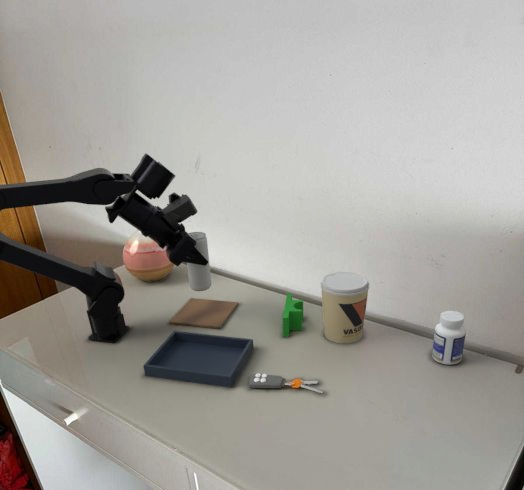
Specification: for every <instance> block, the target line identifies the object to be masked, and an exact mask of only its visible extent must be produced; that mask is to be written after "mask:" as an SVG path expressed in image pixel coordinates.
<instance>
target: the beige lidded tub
mask: <svg viewBox="0 0 524 490" xmlns="http://www.w3.org/2000/svg"><path fill="white" fill-rule="evenodd" d="M320 289H321V304H322V305H321V307H322V320H323V332H324V333H323V334H324V336H325V338H326V339H328V340H329V341H331V342H333V343H337V344H352V343H355V342H357V341H359V340H360V339H361V338H362V336H363V332H364V326H365V318H366V310H367V303H368V295H369V289H370V282H369V279H368V278H367V277H366V276H365V275H363V274H362V273H358V272H353V271H336V272H332V273H328V274H326V275H325V276H324V277H323V278H322V279H321V282H320Z"/></svg>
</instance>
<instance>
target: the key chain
mask: <svg viewBox="0 0 524 490" xmlns="http://www.w3.org/2000/svg"><path fill="white" fill-rule="evenodd" d="M248 384H249V387H250V388H252V389H281V388H282V387H283V388H284V387H285V386H289V387H291V388H293V389H298V388H303V389H307V390H309V391H313V392H316V393H318V394H323V391H322V390H319V389H317V388H314V387H311V386H310V385H317V384H319V381H318V380H302V379H301V378H296V379H293V380H292V381H289V380H288V381H287V379H286V378H285V377H283V376H282V375H273V374H267V373H259V372H258V373H253V374H251V376H250V378H249V383H248Z"/></svg>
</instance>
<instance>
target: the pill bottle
mask: <svg viewBox="0 0 524 490" xmlns="http://www.w3.org/2000/svg"><path fill="white" fill-rule="evenodd" d="M464 323H465V316H464V314H463V313H461V312H459V311H456V310H445V311H443V312H442V313H440V317H439V323H437V324H436V325H435V328H434V335H433V342H432V350H431V356H432V359H433V360H434V361H435V362H437V363H439V364H443V365H448V366H450V365H451V366H452V365H456V364H459V363H460V362H462V360H463V352H464V347H465V340H466V336H467V329H466V327H465V325H464Z"/></svg>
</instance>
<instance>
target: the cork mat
mask: <svg viewBox="0 0 524 490" xmlns="http://www.w3.org/2000/svg"><path fill="white" fill-rule="evenodd" d="M238 305H239V302H238V301H228V300H227V301H226V300H217V299H216V300H215V299H203V298H193V297H191V298H190V299H189V300H188V301H187V302H186V303H185V305H183V307H182V308H180V310H179V311H178V312H177V313H176V314H175V315H174V316H173V317H172V318H171V319H170V321H169V324H172V325H179V326H187V327H190V326H191V327H200V328H209V329H219V330H221V328H222V327H223V326H224V324H225V323H226V321H227V320H228V319H229V317H230V316H231V315H232V313H233V312H234V310H235V309H236V308H237V307H238Z"/></svg>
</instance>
